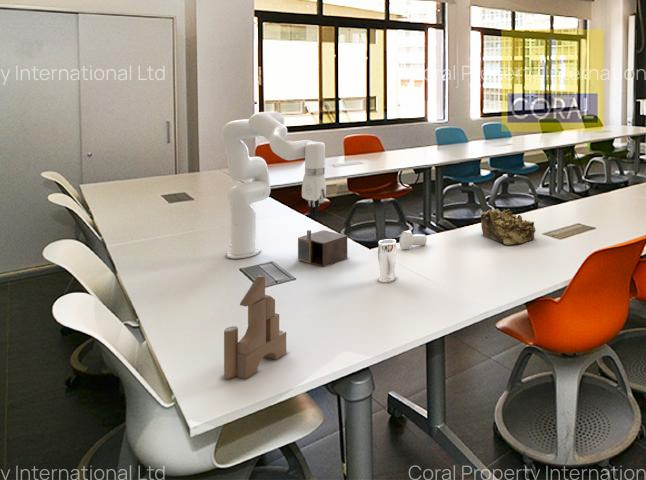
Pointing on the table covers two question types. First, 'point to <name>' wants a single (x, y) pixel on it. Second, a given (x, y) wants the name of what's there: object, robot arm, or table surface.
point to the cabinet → (327, 247)
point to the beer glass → (387, 259)
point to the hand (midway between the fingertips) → (314, 215)
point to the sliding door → (305, 248)
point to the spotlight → (411, 239)
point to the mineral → (506, 227)
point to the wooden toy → (254, 335)
